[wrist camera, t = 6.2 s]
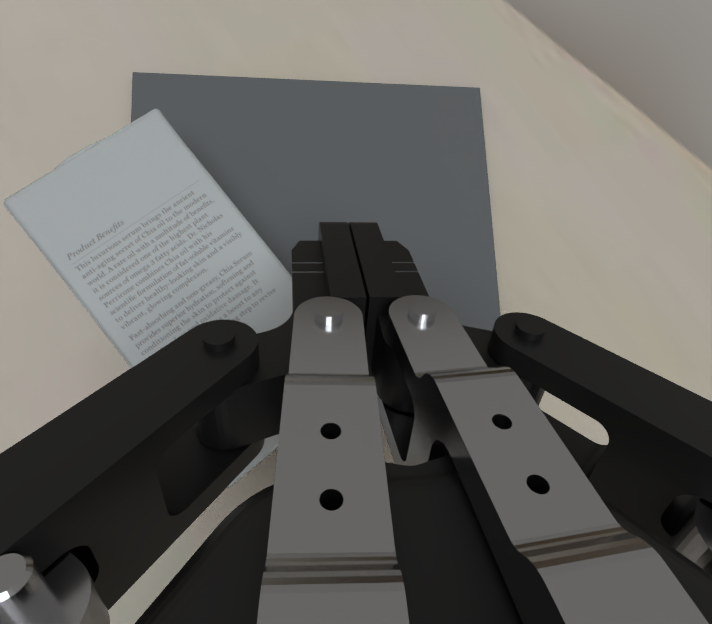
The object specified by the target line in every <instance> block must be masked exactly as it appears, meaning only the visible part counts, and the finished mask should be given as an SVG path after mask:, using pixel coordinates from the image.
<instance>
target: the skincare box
mask: <svg viewBox="0 0 712 624" xmlns="http://www.w3.org/2000/svg"><path fill="white" fill-rule="evenodd" d="M4 206H5V207H6V209H7V210H8V211H9V212H10V214H11V215H12V216H13V217H14V219H15V220H16V221H17V222H18V224H19V225H20V226H21V227H22V228H23V230H24V231H25V232H26V233H27V235H28V236H29V237H30V239H31V240H32V241H33V242H34V243H35V245H36V246H37V247H38V248H39V250H40V251H41V252H42V254H43V255H44V256H45V257H46V259H47V260H48V261H49V263H50V264H51V265H52V266H53V268H54V269H55V270H56V272H57V273H58V274H59V275H60V277H61V278H62V279H63V280H64V282H65V283H66V284H67V286H68V287H69V288H70V290H71V291H72V292H73V293H74V295H75V296H76V297H77V299H78V300H79V301H80V302H81V304H82V305H83V306H84V308H85V309H86V310H87V312H88V313H89V314H90V315H91V317H92V318H93V319H94V321H95V322H96V323H97V325H98V326H99V327H100V328H101V330H102V331H103V332H104V334H105V335H106V336H107V337H108V339H109V340H110V341H111V343H112V344H113V345H114V346H115V348H116V349H117V350H118V352H119V353H120V354H121V356H122V357H123V358H124V360H125V361H126V362H127V363H128V365H129V366H130V367H131V368H132V367H134V366H135V365H137V364H139V363H140V362H142V361H143V360H145V359H146V358H148V357H149V356H151V355H152V354H154V353H155V352H157V351H158V350H160V349H161V348H163V347H165V346H166V345H168V344H169V343H171V342H172V341H174V340H175V339H177V338H178V337H180V336H181V335H183V334H184V333H186V332H187V331H189V330H191V329H192V328H194V327H196V326H197V325H200V324H202V323H205V322H209V321H213V320H235V321H239V322H242V323H245V324H247V325H249V326H250V327H251V328H252V329H253V330H254V331H255V332H256V334H257V333H261V332H265V331H269V330H272V329H274V328H277V327H278V326H280V325H282V324H283V323H285V322H286V321H287V320H288V319H289V318H290V316H291V315H292V312H293V311H292V276H291V275H290V274H289V272H288V271H287V270H286V268H285V267H284V266H283V265H282V263H281V262H280V261H279V260H278V258H277V257H276V256H275V255H274V253H273V252H272V251H271V250H270V248H269V247H268V246H267V245H266V243H265V242H264V241H263V240H262V238H261V237H260V236H259V235H258V233H257V232H256V231H255V230H254V228H253V227H252V226H251V225H250V223H249V222H248V221H247V220H246V218H245V217H244V216H243V215H242V213H241V212H240V211H239V210H238V208H237V207H236V206H235V205H234V203H233V202H232V201H231V200H230V199H229V197H228V196H227V195H226V194H225V192H224V191H223V190H222V188H221V187H220V186H219V185H218V184H217V182H216V181H215V180H214V179H213V177H212V176H211V175H210V174H209V172H208V171H207V170H206V169H205V167H204V166H203V165H202V164H201V162H200V161H199V160H198V159H197V158H196V156H195V155H194V154H193V153H192V152H191V150H190V149H189V148H188V147H187V145H186V144H185V143H184V142H183V140H182V139H181V138H180V137H179V135H178V134H177V133H176V131H175V130H174V129H173V127H172V126H171V125H170V124H169V122H168V121H167V120H166V118H165V117H164V116H163V114H162V113H161V111H160V110H159V109H153V110H151V111H150V112H148V113H147V114H145V115H143V116H142V117H140V118H138V119H137V120H135V121H133V122H132V123H130V124H129V125H127V126H126V127H124V128H122V129H120V130H119V131H117V132H115V133H114V134H112V135H110V136H109V137H107V138H105V139H103V140H100V141H98V142H95V143H93V144H91V145H88V146H87V147H85V148H84V149H82V150H80V151H79V152H77V153H75V154H73V155H72V156H70V157H68V158H67V159H66V160H64V161H63V162H62V163H61V164H60V165H59V166H57V167H56V168H55V169H54V170H53V171H51V172H49V173H48V174H46V175H45V176H43V177H41V178H40V179H38V180H36V181H35V182H33V183H31V184H30V185H28V186H26V187H25V188H23V189H21V190H20V191H18V192H16V193H15V194H13V195H11V196H10V197H8V198H6V199H5V201H4ZM278 441H279V434H278V435H275V436H272V437H269V438H266V439H265V440H264V445H263V448H262V450H261V451H260V453H259V454H258V455H257V456H256V457H255V458H254V459H253V460H252V461H251V462H250V464H249V465H248V466H247V467H246V468H245V469H244V470H243V471H242V472H241V473H240V474H239V475H238V476H237V477H236V478H235V479H234V480H233V481H232V482H231V483H230V484H229V485H228V486H227V487H226V488H228V487H230V486H232V485H233V484H234V483H235V482H237V481H238V480H239V479H240V478H241V477H243V476H244V475H245V474H246V473H247V472H249V471H250V470H251V469H252V468H253V467H255V466H256V465H257V464H258V463H259V462H261V461H262V460H263V459H264V458H265V457H267V456H268V455H269V454H270V453H271V452H273V451H274V450H275V449H276V448H277V447H278Z"/></svg>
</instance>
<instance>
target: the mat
mask: <svg viewBox="0 0 712 624" xmlns="http://www.w3.org/2000/svg"><path fill="white" fill-rule="evenodd" d="M153 109H159V110H160V111H161V113H162V114H163V116H164V117H165V118H166V120H167V121H168V122H169V124H170V125H171V126H172V127H173V129H174V130H175V131H176V133H177V134H178V135H179V137H180V138H181V139H182V140H183V142H184V143H185V144H186V145H187V147H188V148H189V149H190V150H191V152H192V153H193V154H194V155H195V156H196V158H197V159H198V160H199V161H200V162H201V164H202V165H203V166H204V167H205V169H206V170H207V171H208V172H209V174H210V175H211V176H212V177H213V179H214V180H215V181H216V182H217V184H218V185H219V186H220V187H221V188H222V190H223V191H224V192H225V194H226V195H227V196H228V197H229V199H230V200H231V201H232V202H233V203H234V205H235V206H236V207H237V208H238V210H239V211H240V212H241V213H242V215H243V216H244V217H245V218H246V220H247V221H248V222H249V223H250V225H251V226H252V227H253V228H254V230H255V231H256V232H257V233H258V235H259V236H260V237H261V238H262V240H263V241H264V242H265V243H266V245H267V246H268V247H269V248H270V250H271V251H272V252H273V253H274V255H275V256H276V257H277V258H278V260H279V261H280V262H281V263H282V265H283V266H284V267H285V268H286V270H287V271H288V272H289V274H290V275H291V276H292V253H291V250H292V249H293V248H294V247H295V245H296V244H297V243H298V242H299V241H318V230H319V222H347V223H348V224H349V222H377V223H378V226H379V228H380V231H381V234H382V237H383V239H384V241H398V242H399V243H400V244H402V245H403V246H404V247H405V248H407V249H408V250H409V252H410V254H411V256H412V259H413V261H414V263H415V265H416V268H417V270H418V272H419V274H420V277H421V279H422V281H423V283H424V286H425V288H426V290H427V293H428V295H429V297H432V298H435V299H437V300H440V301H442V302H444V303H445V304H447V305H448V306H449V307H450V308H451V309H452V310H453V312H454V313H455V315H456V317H457V318H458V320H459V321H460V323H461V325H464V326H468V327H474V328H479V329H484V330H490V331H492V330H493V327H494V323H495V321H496V319H497V318H498V317H500V305H499V294H498V283H497V272H496V261H495V250H494V239H493V228H492V217H491V206H490V195H489V184H488V173H487V162H486V151H485V140H484V129H483V119H482V108H481V97H480V88H470V87H448V86H426V85H404V84H381V83H359V82H337V81H315V80H293V79H270V78H248V77H226V76H204V75H182V74H159V73H137V72H133V80H132V111H131V123H132V122H133V121H135V120H137V119H138V118H140V117H142V116H143V115H145V114H147V113H148V112H150V111H151V110H153Z"/></svg>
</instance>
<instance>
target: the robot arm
mask: <svg viewBox="0 0 712 624" xmlns="http://www.w3.org/2000/svg"><path fill="white" fill-rule="evenodd" d="M291 253H292V311H293V312H292V315H291V316H290V318H289V319H288V320H287V321H286V322H285V323H283V324H282V325H280V326H278V327H277V328H274V329H272V330H269V331H265V332H261V333H257V334H256V332H255V331H254V330H253V329H252V328H251V327H250V326H249V325H247V324H245V323H242V322H239V321H235V320H213V321H209V322H205V323H202V324H200V325H197V326H196V327H194V328H192V329H191V330H189V331H187V332H186V333H184V334H183V335H181V336H180V337H178V338H177V339H175V340H174V341H172V342H171V343H169V344H168V345H166V346H165V347H163V348H161V349H160V350H158V351H157V352H155V353H154V354H152V355H151V356H149V357H148V358H146V359H145V360H143V361H142V362H140V363H139V364H137V365H135V366H134V367H132V368H131V369H129V370H128V371H126V372H125V373H123V374H122V375H120V376H119V377H117V378H116V379H114V380H113V381H111V382H109V383H108V384H106V385H105V386H103V387H102V388H100V389H99V390H97V391H96V392H94V393H93V394H91V395H90V396H88V397H87V398H85V399H84V400H82V401H80V402H79V403H77V404H76V405H74V406H73V407H71V408H70V409H68V410H67V411H65V412H64V413H62V414H61V415H59V416H58V417H56V418H54V419H53V420H51V421H50V422H48V423H47V424H45V425H44V426H42V427H41V428H39V429H38V430H36V431H35V432H33V433H32V434H30V435H28V436H27V437H25V438H24V439H22V440H21V441H19V442H18V443H16V444H15V445H13V446H12V447H10V448H9V449H7V450H6V451H4V452H2V453H1V454H0V624H110V616H109V613H108V610H109V609H110V608H111V607H112V606H113V605H114V604H115V603H116V602H117V601H118V600H119V599H120V598H121V596H122V595H123V594H124V593H125V592H126V591H127V590H128V589H129V588H130V587H131V586H132V585H133V584H134V583H135V582H136V581H137V580H138V579H139V578H140V577H141V576H142V575H143V574H144V573H145V572H146V571H147V569H148V568H149V567H150V566H151V565H152V564H153V563H154V562H155V561H156V560H157V559H158V558H159V557H160V556H161V555H162V554H163V553H164V552H165V551H166V550H167V549H168V548H169V547H170V546H171V545H172V544H173V542H174V541H175V540H176V539H177V538H178V537H179V536H180V535H181V534H182V533H183V532H184V531H185V530H186V529H187V528H188V527H189V526H190V525H191V524H192V523H193V522H194V521H195V520H196V519H197V518H198V516H199V515H200V514H201V513H202V512H203V511H204V510H205V509H206V508H207V507H208V506H209V505H210V504H211V503H212V502H213V501H214V500H215V499H216V498H217V497H218V496H219V495H220V494H221V493H222V492H223V491H224V489H225V488H226V487H227V486H228V485H229V484H230V483H231V482H232V481H233V480H234V479H235V478H236V477H237V476H238V475H239V474H240V473H241V472H242V471H243V470H244V469H245V468H246V467H247V466H248V465H249V464H250V462H251V461H252V460H253V459H254V458H255V457H256V456H257V455H258V454H259V453H260V451H261V450H262V448H263V445H264V440H265V439H266V438H269V437H272V436H275V435H278V434H279V441H278V451H277V461H276V471H275V480H274V485H272V486H270V487H267V488H265V489H263V490H262V491H260V492H258V493H256V494H255V495H253V496H251V497H250V498H249V499H247V500H246V501H245V502H243V503H242V504H240V505H239V506H238V507H237V508H235V509H234V510H233V511H232V512H231V513H230V514H229V515H228V516H227V517H226V518H225V519H224V520H223V521H222V522H221V523H220V524H219V525H218V526H217V528H216V529H215V530H214V531H213V532H212V533H211V535H210V536H209V537H208V538H207V539H206V541H205V542H204V543H203V544H202V545H201V546H200V548H199V549H198V550H197V551H196V552H195V553H194V555H193V556H192V557H191V558H190V559H189V561H188V562H187V563H186V564H185V565H184V566H183V568H182V569H181V570H180V571H179V572H178V573H177V575H176V576H175V577H174V578H173V579H172V580H171V582H170V583H169V584H168V585H167V586H166V588H165V589H164V590H163V591H162V592H161V593H160V595H159V596H158V597H157V598H156V599H155V600H154V602H153V603H152V604H151V605H150V606H149V608H148V609H147V610H146V611H145V612H144V613H143V615H142V616H141V617H140V618H139V619H138V620H137V622H136V623H135V624H712V402H711V401H709V400H707V399H705V398H703V397H701V396H699V395H697V394H695V393H693V392H691V391H689V390H687V389H685V388H683V387H681V386H679V385H677V384H675V383H673V382H671V381H669V380H667V379H665V378H663V377H661V376H659V375H657V374H655V373H653V372H651V371H649V370H647V369H644V368H642V367H640V366H638V365H636V364H634V363H632V362H630V361H628V360H626V359H624V358H622V357H620V356H618V355H616V354H614V353H612V352H610V351H608V350H606V349H604V348H602V347H600V346H598V345H596V344H594V343H592V342H590V341H588V340H586V339H584V338H582V337H580V336H578V335H576V334H574V333H572V332H569V331H567V330H565V329H563V328H561V327H559V326H557V325H555V324H553V323H551V322H549V321H547V320H545V319H543V318H541V317H538V316H535V315H531V314H527V313H517V312H516V313H507V314H504V315H502V316H500V317H498V318H497V319H496V321H495V323H494V327H493V330H492V331H490V330H484V329H479V328H474V327H468V326H464V325H461V323H460V321H459V320H458V318H457V317H456V315H455V313H454V312H453V310H452V309H451V308H450V307H449V306H448V305H447V304H445V303H444V302H442V301H440V300H437V299H435V298H432V297H429V295H428V293H427V290H426V288H425V286H424V283H423V281H422V279H421V277H420V274H419V272H418V270H417V268H416V265H415V263H414V261H413V259H412V256H411V254H410V252H409V250H408V249H407V248H405V247H404V246H403V245H402V244H400V243H399V242H398V241H384V239H383V237H382V234H381V231H380V228H379V226H378V223H377V222H349V224H348V223H347V222H319V230H318V241H299V242H298V243H297V244H296V245H295V247H294V248H293V249H292V250H291ZM544 391H547V392H549V393H550V394H552V395H554V396H556V397H557V398H559V399H561V400H562V401H564V402H566V403H568V404H569V405H571V406H573V407H574V408H576V409H578V410H580V411H581V412H583V413H585V414H586V415H588V416H590V417H592V418H593V419H595V420H597V421H598V422H599V423H600V424H602V425H603V427H604V428H605V429H606V431H607V433H608V436H609V443H608V445H600V444H597V443H595V442H593V441H591V440H589V439H588V438H586V437H584V436H583V435H581V434H579V433H578V432H576V431H575V430H573V429H571V428H570V427H568V426H566V425H565V424H563V423H561V422H560V421H558V420H556V419H555V418H553V417H552V416H550V415H548V414H547V413H545V412H543V411H542V410H541V409H540V408H539V403H540V401H541V399H542V396H543V394H544ZM377 394H378V398H377ZM380 419H381V422H382V425H383V429H384V432H385V435H386V438H387V441H388V444H389V448H390V451H391V454H392V457H393V460H394V464H393V463H387V462H385V459H384V450H383V442H382V433H381V425H380Z"/></svg>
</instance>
